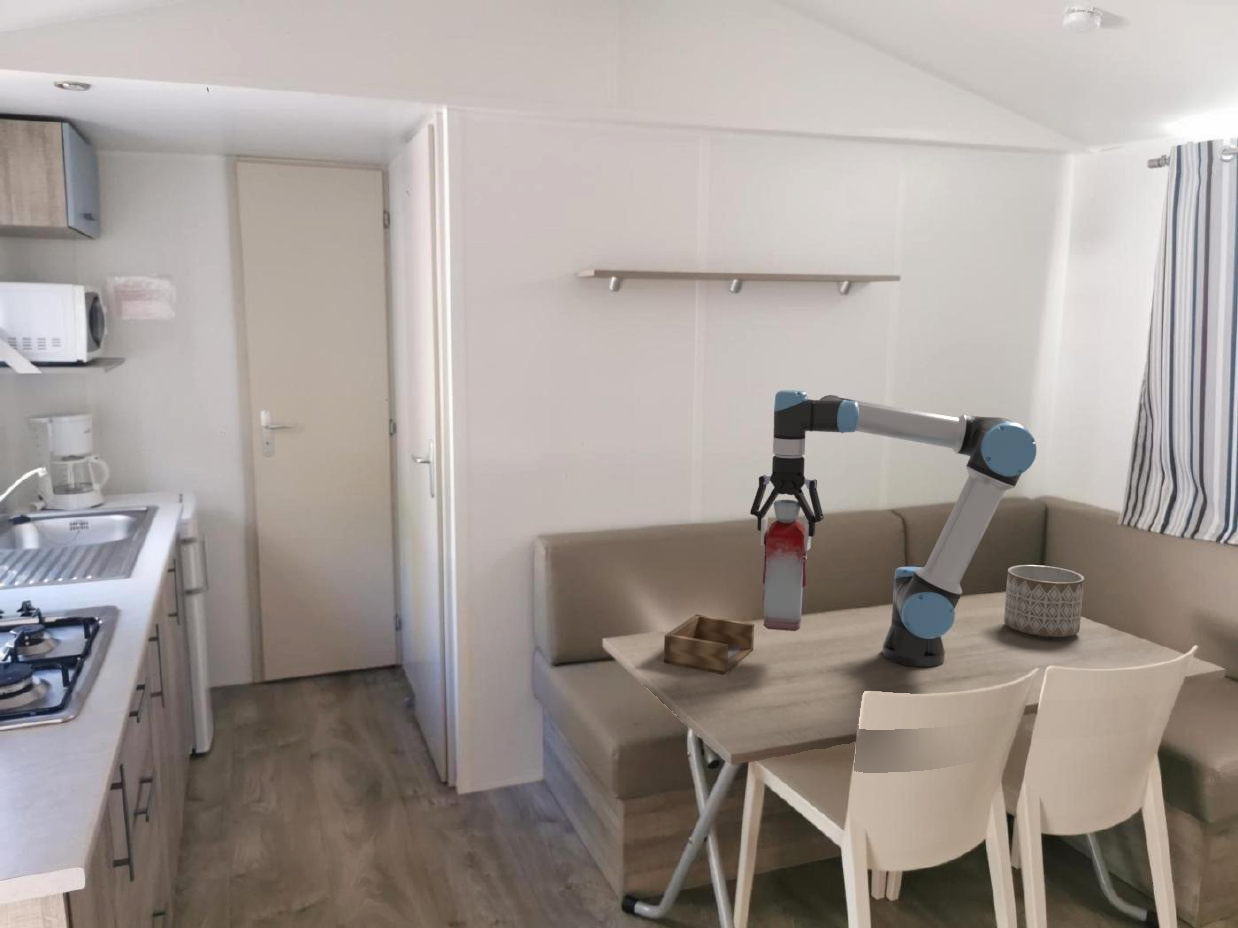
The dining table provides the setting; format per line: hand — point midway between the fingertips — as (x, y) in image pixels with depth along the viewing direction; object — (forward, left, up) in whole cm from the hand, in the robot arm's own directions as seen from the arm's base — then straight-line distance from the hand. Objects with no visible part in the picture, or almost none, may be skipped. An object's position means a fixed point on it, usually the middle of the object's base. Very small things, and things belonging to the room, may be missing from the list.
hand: (785, 546), depth 239 cm
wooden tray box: (+17, +3, -30) cm, 34 cm away
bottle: (0, 0, -19) cm, 19 cm away
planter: (-55, -63, -30) cm, 89 cm away
